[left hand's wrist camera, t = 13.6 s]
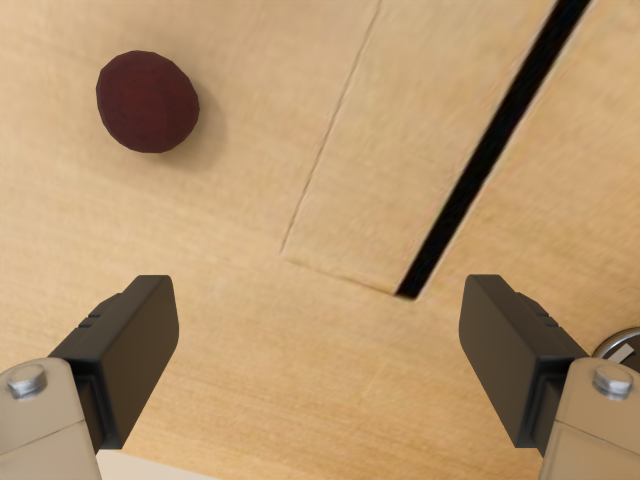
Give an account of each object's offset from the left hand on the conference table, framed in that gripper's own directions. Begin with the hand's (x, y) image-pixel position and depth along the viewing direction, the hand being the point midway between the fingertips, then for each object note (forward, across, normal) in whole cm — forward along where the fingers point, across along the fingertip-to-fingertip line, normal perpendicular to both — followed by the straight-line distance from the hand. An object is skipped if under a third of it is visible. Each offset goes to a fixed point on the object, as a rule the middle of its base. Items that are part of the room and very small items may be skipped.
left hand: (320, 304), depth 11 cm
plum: (+28, -14, +4) cm, 31 cm away
